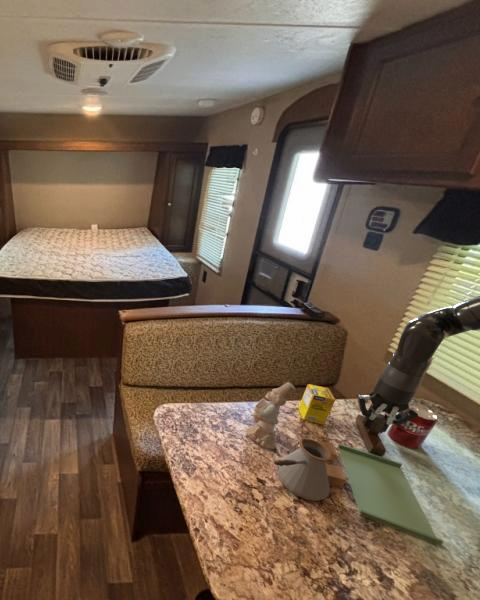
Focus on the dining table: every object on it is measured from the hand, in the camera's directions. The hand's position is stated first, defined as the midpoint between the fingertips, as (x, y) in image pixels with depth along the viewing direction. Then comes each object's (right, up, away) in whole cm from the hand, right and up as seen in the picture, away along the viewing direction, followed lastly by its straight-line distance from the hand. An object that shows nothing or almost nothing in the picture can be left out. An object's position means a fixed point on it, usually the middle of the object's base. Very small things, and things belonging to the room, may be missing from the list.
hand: (372, 429), depth 93 cm
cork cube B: (-22, -9, -11) cm, 26 cm away
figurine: (-32, -3, +2) cm, 33 cm away
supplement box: (-11, -1, +10) cm, 15 cm away
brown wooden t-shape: (0, -4, +2) cm, 4 cm away
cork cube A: (-18, -6, -4) cm, 20 cm away
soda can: (+11, -5, +2) cm, 12 cm away
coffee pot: (-35, -10, -14) cm, 39 cm away
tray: (-10, -11, -13) cm, 20 cm away
